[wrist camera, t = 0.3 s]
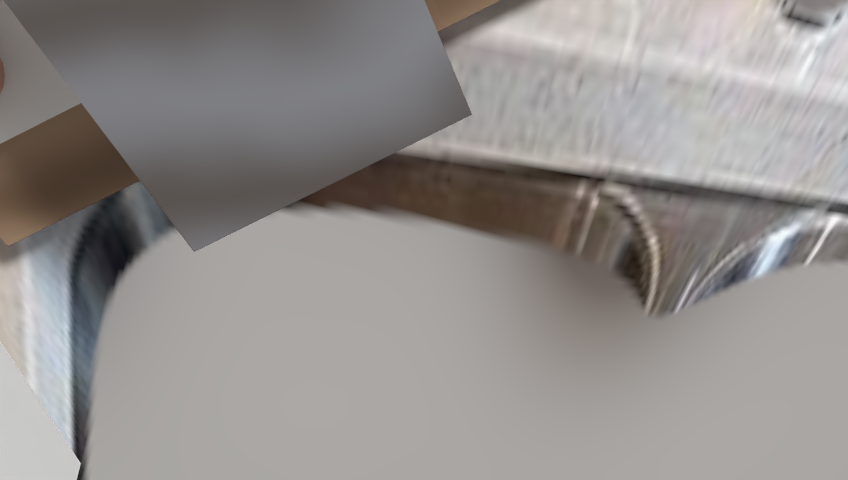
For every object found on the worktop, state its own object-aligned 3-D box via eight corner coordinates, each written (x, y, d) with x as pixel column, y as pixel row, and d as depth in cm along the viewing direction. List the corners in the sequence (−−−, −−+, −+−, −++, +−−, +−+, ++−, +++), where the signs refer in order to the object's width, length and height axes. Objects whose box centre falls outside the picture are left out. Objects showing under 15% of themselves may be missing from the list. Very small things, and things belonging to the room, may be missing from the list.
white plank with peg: (-171, 9, 27) (-350, 92, 19) (249, -208, 27) (253, -219, 18) (-36, 157, 31) (-137, 281, 23) (334, -30, 30) (368, 28, 22)
